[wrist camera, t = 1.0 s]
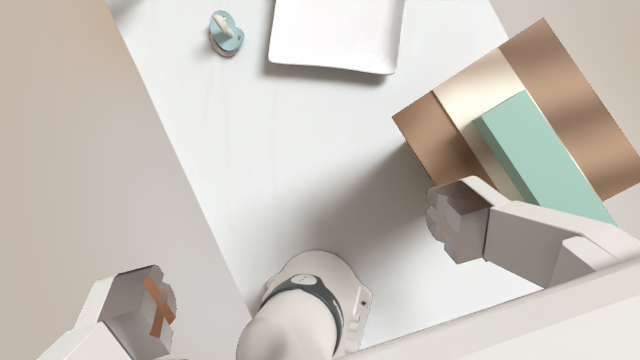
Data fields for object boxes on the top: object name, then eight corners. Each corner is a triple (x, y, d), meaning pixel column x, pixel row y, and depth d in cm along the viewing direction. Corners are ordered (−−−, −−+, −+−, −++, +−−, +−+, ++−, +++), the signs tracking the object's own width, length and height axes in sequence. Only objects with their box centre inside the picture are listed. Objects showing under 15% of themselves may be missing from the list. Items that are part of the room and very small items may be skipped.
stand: (523, 166, 52) (654, 175, 26) (441, 213, 55) (486, 262, 29) (469, 85, 52) (544, 16, 27) (390, 135, 55) (392, 116, 30)
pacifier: (228, 65, 61) (252, 42, 59) (209, 55, 55) (235, 29, 53) (204, 34, 61) (228, 10, 60) (183, 21, 55) (208, -6, 54)
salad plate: (417, -57, 53) (419, -72, 50) (396, 80, 55) (396, 75, 52) (289, -60, 57) (282, -73, 54) (273, 68, 59) (266, 62, 56)
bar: (645, 296, 27) (676, 313, 24) (601, 316, 27) (626, 335, 24) (510, 96, 28) (525, 89, 25) (471, 120, 28) (481, 116, 25)
